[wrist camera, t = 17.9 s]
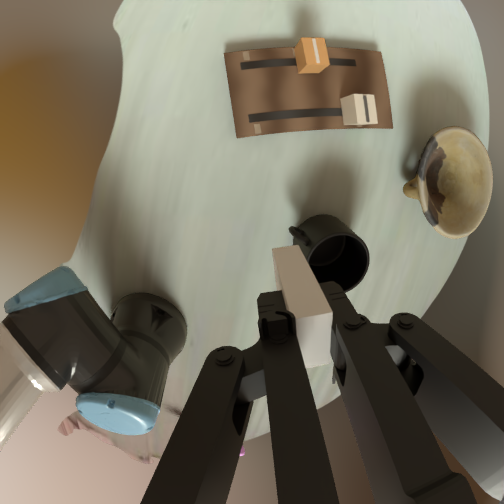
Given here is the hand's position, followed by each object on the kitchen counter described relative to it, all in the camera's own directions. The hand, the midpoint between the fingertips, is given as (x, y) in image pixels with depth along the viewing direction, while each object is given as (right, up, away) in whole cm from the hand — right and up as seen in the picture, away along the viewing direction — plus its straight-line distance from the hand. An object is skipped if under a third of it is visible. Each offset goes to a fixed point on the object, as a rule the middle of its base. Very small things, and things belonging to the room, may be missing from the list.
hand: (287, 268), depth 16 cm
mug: (+8, +3, +28) cm, 29 cm away
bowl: (+30, +15, +24) cm, 41 cm away
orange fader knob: (+6, +28, +15) cm, 32 cm away
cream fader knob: (+12, +21, +18) cm, 30 cm away
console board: (+7, +25, +19) cm, 32 cm away
